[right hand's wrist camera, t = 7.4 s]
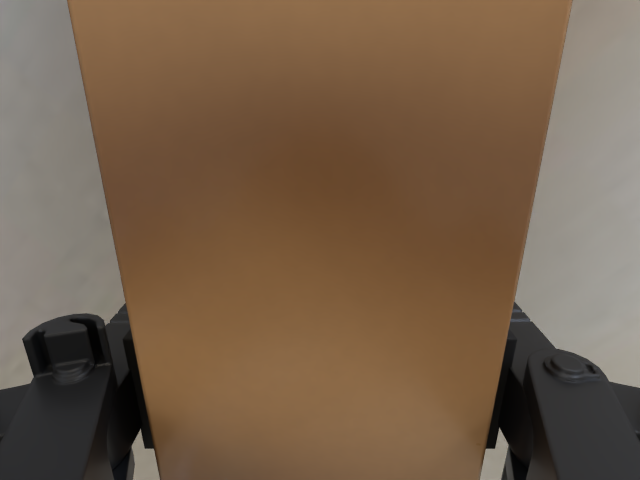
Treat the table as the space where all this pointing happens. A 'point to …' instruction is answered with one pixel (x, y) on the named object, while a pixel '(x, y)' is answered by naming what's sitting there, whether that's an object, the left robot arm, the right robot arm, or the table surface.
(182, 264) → the bar
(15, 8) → the table surface
